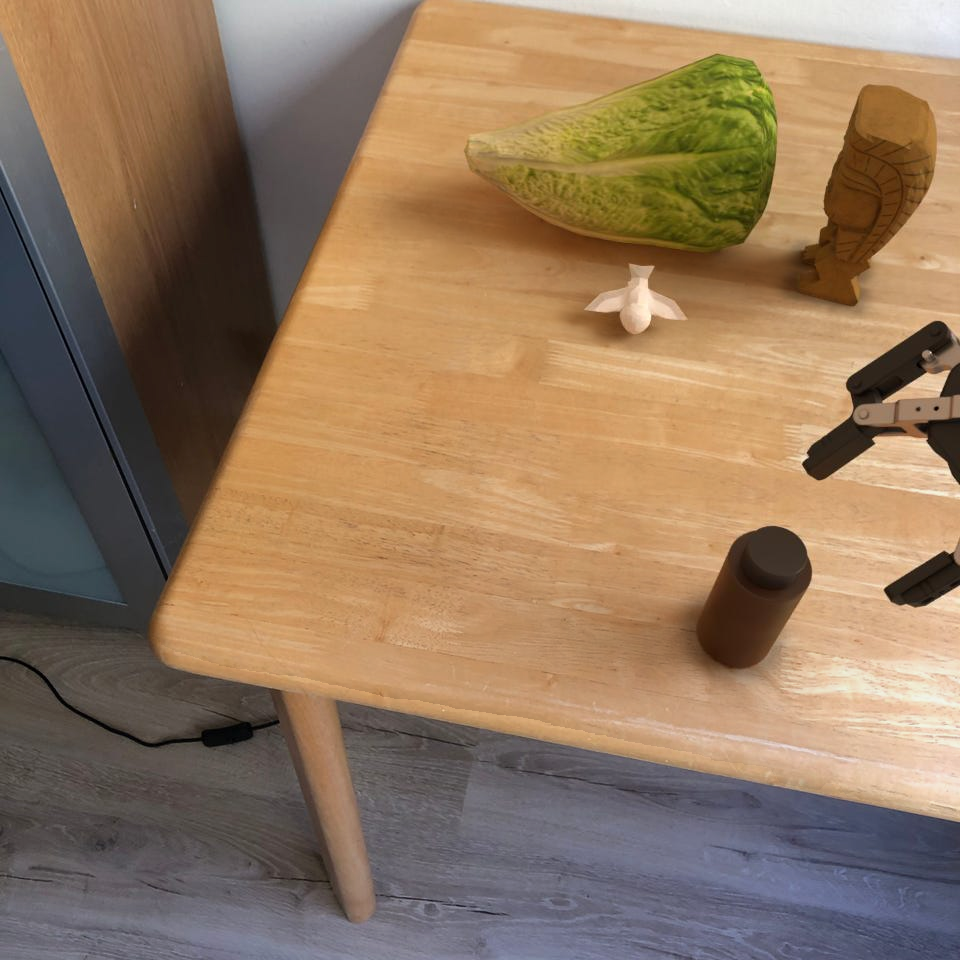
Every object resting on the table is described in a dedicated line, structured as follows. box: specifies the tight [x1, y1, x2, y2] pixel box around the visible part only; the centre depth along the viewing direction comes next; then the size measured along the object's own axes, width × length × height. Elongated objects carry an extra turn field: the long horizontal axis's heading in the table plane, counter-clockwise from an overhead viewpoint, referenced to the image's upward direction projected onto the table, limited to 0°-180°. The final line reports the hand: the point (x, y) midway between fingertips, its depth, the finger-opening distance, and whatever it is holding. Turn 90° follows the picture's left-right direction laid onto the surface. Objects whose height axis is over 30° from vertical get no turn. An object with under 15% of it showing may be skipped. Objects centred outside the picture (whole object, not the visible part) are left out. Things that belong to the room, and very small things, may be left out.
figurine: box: [796, 83, 938, 307], centre depth 73 cm, size 7×7×15 cm
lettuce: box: [463, 53, 778, 253], centre depth 78 cm, size 14×24×15 cm
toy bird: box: [583, 262, 688, 335], centre depth 74 cm, size 8×5×5 cm, turn 83°
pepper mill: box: [696, 525, 813, 669], centre depth 56 cm, size 5×5×10 cm
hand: (849, 533), depth 53 cm, fingers open, 8 cm apart
